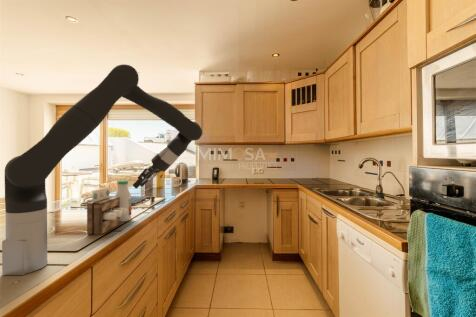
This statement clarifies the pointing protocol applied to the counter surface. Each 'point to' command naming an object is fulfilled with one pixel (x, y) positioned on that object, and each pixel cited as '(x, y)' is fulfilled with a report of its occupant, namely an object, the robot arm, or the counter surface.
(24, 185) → the robot arm
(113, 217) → the left button
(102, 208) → the brown wooden box
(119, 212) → the middle button
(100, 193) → the card
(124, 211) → the right button
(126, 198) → the milk bottle
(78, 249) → the counter surface
